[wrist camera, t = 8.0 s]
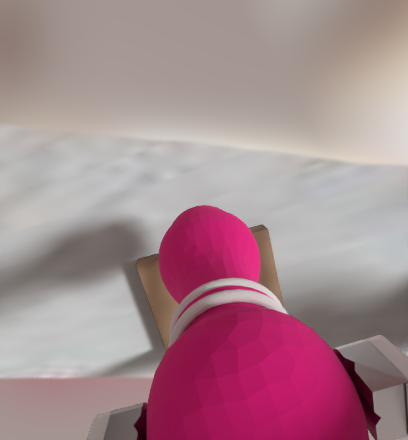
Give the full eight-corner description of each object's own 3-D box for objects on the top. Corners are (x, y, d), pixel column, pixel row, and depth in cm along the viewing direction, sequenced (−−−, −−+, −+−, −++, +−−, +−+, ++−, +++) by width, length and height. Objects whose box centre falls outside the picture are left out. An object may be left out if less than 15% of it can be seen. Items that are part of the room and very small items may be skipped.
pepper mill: (183, 288, 24) (194, 863, 4) (148, 220, 22) (-90, 699, 3) (254, 257, 24) (584, 714, 4) (226, 185, 22) (577, 426, 2)
